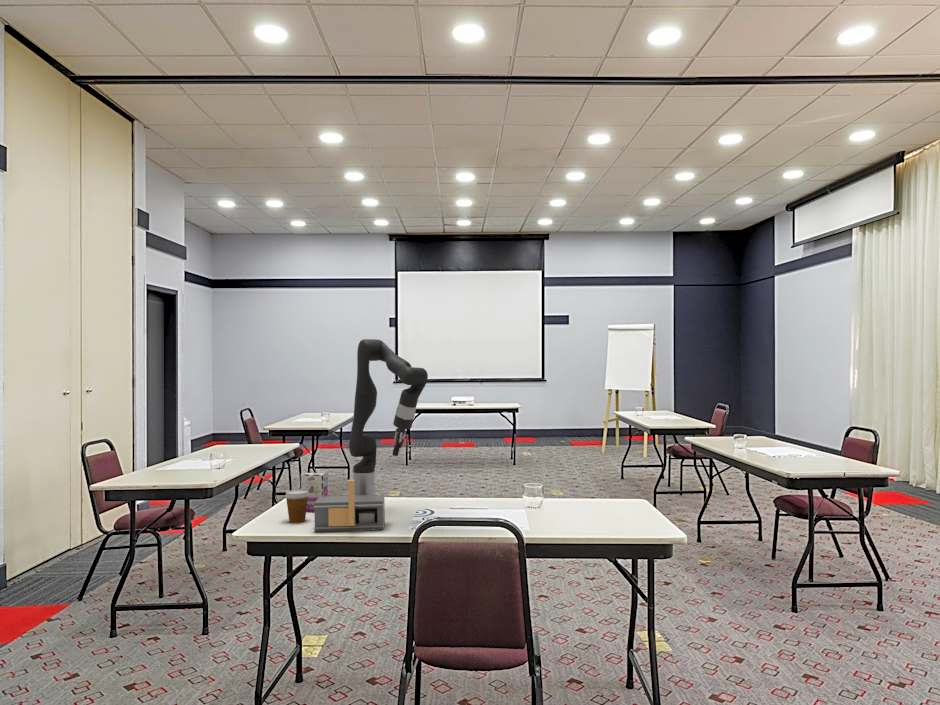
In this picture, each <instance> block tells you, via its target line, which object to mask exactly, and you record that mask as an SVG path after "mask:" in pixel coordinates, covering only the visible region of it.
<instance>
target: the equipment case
mask: <svg viewBox="0 0 940 705" xmlns="http://www.w3.org/2000/svg"><path fill="white" fill-rule="evenodd" d="M385 506H386V505H385V495H384V494H375V495H362V496H355V526H329V513H328V508H330V507H349V495H331V496H329V495H328V496H323V497H319V498H318V499H317V500H316V502H315V503H314V512H313V513H314V527H313V530H314V532H315V531H321V532H347V531H346V530H356V531H373V530H372V529H383V530H384V527H383V526H385V523H386V522H385V520H386V519H385V516H386V515H385Z"/></svg>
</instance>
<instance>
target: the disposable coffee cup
mask: <svg viewBox="0 0 940 705" xmlns="http://www.w3.org/2000/svg"><path fill="white" fill-rule="evenodd" d="M308 495H309V494H308V491H307V490H301V489H293V490H288V491H286V493H285V499H286V505H287V506H286V507H287V514H288V520H289V521H288V522H289V523H291V524H297V523H298V522H300V523H303V521H304V522H305V521H306V515H307V512H306V509H307V500H308Z"/></svg>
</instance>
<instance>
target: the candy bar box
mask: <svg viewBox="0 0 940 705" xmlns="http://www.w3.org/2000/svg"><path fill="white" fill-rule="evenodd" d="M328 474H329V473H327V472H326V473H324V472H304V473H301V474H300V490H307V491H308V494H309V495H308V500H307V509H306V513H314V503H315V502H316V500H317V499H318V498H319V497H323V496H329V481H328V480H329V475H328Z"/></svg>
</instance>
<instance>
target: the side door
mask: <svg viewBox="0 0 940 705" xmlns="http://www.w3.org/2000/svg"><path fill="white" fill-rule="evenodd" d="M347 481H348V496H349V507H330V508H328V513H329V526H355V495H354V480H353V479H348V480H347Z"/></svg>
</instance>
